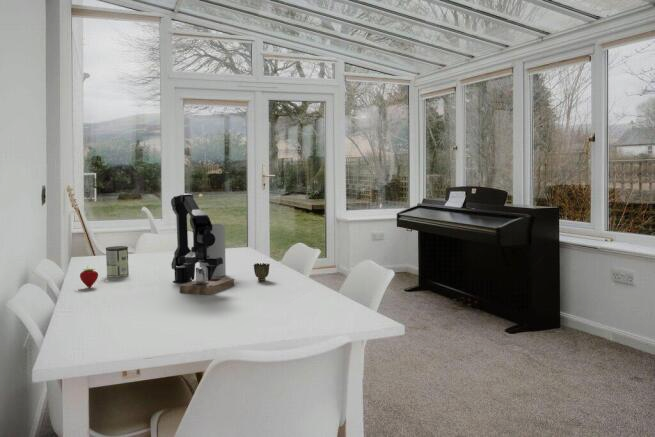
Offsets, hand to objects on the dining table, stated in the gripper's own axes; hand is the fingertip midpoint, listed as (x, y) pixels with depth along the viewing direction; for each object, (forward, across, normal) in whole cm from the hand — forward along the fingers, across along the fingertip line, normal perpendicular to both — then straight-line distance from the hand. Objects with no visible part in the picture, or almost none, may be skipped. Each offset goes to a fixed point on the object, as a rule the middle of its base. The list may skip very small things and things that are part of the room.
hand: (201, 280), depth 233 cm
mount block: (+5, 0, +5) cm, 7 cm away
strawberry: (+5, -51, -10) cm, 52 cm away
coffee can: (+5, -60, +18) cm, 63 cm away
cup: (+5, +14, +29) cm, 33 cm away
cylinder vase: (+5, -15, +33) cm, 37 cm away
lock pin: (+5, 0, 0) cm, 5 cm away
